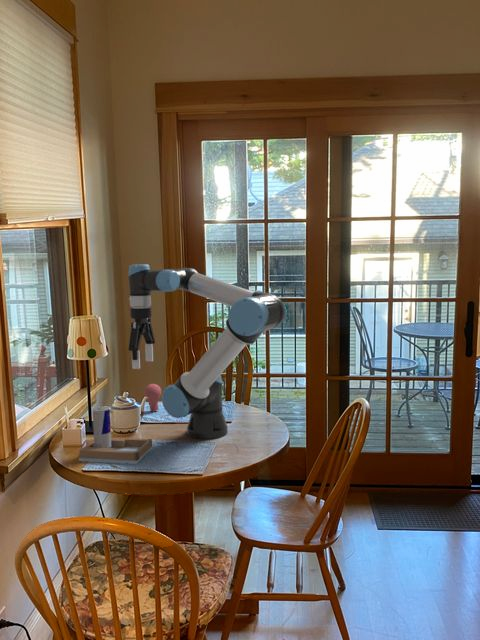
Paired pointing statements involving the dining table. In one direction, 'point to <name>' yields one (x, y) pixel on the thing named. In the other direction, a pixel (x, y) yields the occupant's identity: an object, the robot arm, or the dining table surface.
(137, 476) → the dining table surface
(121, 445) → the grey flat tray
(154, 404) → the light bulb
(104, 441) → the beverage can
